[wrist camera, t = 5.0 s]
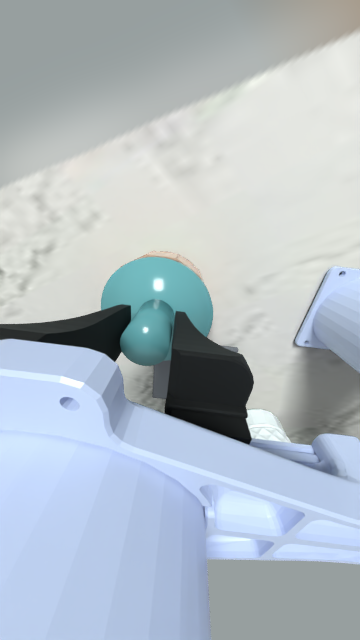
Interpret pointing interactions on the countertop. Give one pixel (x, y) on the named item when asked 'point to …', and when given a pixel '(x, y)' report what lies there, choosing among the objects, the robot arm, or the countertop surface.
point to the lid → (156, 305)
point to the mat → (167, 376)
